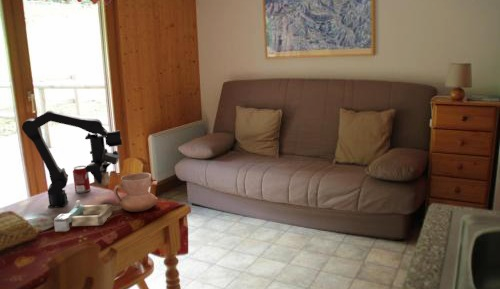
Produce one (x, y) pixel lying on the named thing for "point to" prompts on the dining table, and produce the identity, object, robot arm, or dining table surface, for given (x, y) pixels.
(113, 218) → the dining table surface
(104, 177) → the light wood block
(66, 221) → the grey hooked piece
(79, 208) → the link
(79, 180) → the soda can
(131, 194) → the ceramic jug
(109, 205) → the cream c-clamp frame
